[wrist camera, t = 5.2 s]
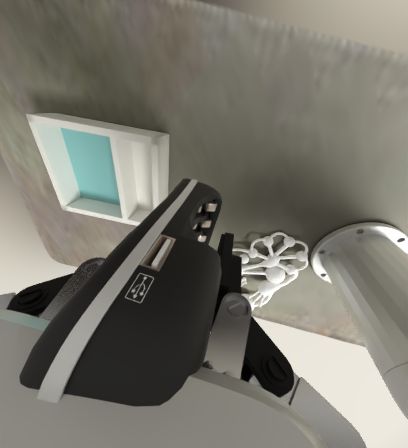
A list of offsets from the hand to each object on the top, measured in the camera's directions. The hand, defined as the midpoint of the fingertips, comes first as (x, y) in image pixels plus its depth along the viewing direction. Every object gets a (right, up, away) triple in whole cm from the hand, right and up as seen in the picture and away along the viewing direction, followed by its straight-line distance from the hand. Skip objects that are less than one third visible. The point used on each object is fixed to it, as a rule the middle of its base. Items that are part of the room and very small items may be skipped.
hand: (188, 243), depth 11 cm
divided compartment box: (-12, +9, +15) cm, 22 cm away
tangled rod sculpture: (+10, -7, +22) cm, 25 cm away
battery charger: (+1, +2, +3) cm, 3 cm away
